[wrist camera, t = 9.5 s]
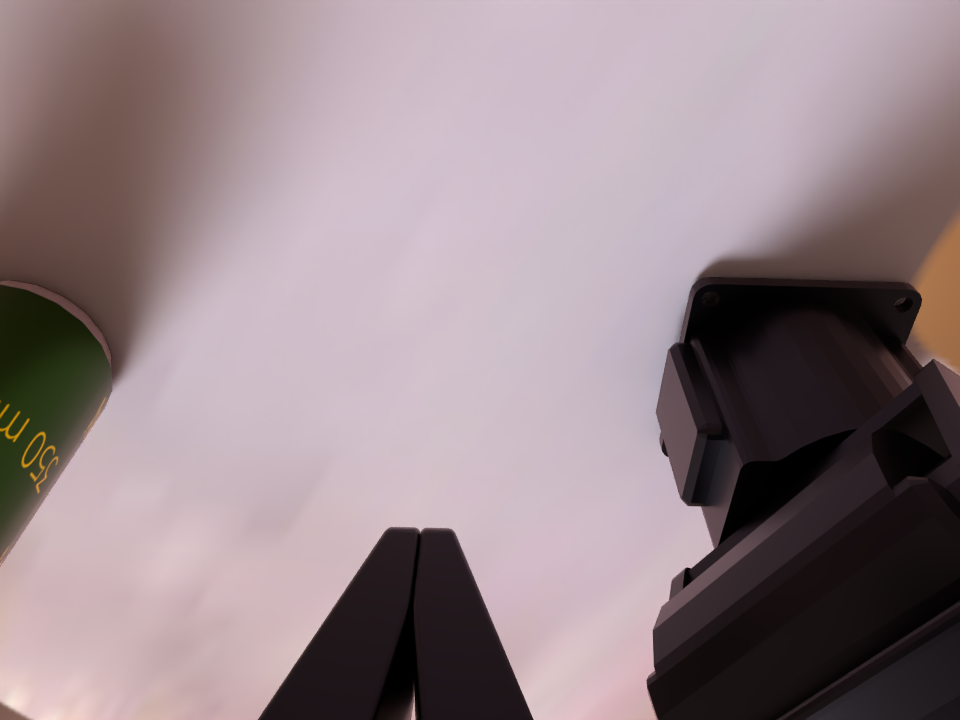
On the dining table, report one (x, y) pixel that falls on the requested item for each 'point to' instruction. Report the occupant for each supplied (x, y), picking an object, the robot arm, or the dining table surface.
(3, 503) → the beer can
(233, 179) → the dining table surface
